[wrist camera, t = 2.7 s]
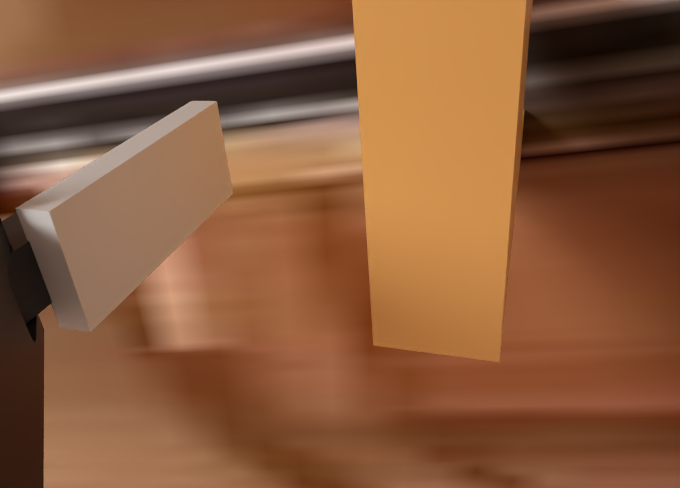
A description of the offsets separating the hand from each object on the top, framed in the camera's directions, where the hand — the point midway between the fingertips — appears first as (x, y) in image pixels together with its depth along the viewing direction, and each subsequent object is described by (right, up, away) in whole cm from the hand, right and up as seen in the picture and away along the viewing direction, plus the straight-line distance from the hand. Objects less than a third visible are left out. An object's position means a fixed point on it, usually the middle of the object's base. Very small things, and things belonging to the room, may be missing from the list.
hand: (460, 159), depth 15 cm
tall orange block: (+2, +5, +7) cm, 9 cm away
